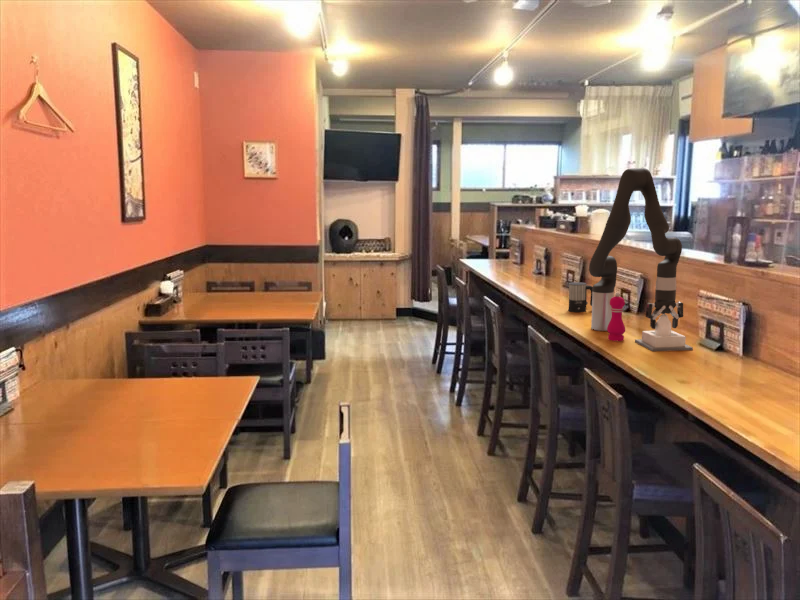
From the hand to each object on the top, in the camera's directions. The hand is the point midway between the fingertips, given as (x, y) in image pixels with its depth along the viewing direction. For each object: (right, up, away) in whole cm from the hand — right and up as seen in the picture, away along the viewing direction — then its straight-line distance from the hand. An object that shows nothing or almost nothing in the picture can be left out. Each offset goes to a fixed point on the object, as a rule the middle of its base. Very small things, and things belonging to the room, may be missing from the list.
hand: (663, 328), depth 247 cm
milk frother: (-10, +6, +83) cm, 84 cm away
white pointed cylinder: (0, -6, +1) cm, 6 cm away
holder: (0, -7, +1) cm, 7 cm away
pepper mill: (-15, -6, +13) cm, 20 cm away
